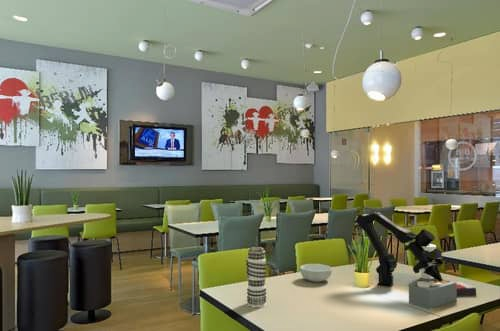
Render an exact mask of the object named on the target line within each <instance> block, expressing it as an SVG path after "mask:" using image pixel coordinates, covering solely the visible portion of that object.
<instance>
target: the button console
mask: <svg viewBox="0 0 500 331" xmlns="http://www.w3.org/2000/svg"><path fill="white" fill-rule="evenodd" d="M436 280H437V279H435V278H433V277H432V278H431V279H425V280H424V281H425V282H429V283H430V288H426V289H425V288H421V287H417V282H413V283H410V284H408V303H409V304H412V305H415V306H419V307H421V308H424V309H428V310H432V309H435V308H438V307H440V306H443V305H447V304H450V303H453V302H456V301H457V300H458V296H457V286H456V282H457V281H452V280H447V279H443V278H442V280H444V281H447V282H448V283H440V282H436Z"/></svg>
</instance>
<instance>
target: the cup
mask: <svg viewBox="0 0 500 331" xmlns="http://www.w3.org/2000/svg"><path fill="white" fill-rule="evenodd" d="M423 248H424V250H425V251H429V252H431V251H434V249H436V248H437V245H436V244H432V243H430V244H429V245H428V246H427V247H424V246H423ZM433 261H434V260H433ZM418 262H419V261H418V260H417V263H418ZM419 271H420V272H419V273H420V277H421V279H425V280H429V279H432V277H431V276H430V275H428V274H426V273H423V272H424V271H425V270H424V268H423V269H420V270H419Z"/></svg>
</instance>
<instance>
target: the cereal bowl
mask: <svg viewBox="0 0 500 331" xmlns="http://www.w3.org/2000/svg"><path fill="white" fill-rule="evenodd" d="M299 271H300V274H301V276H302V278H304V279H305V280H308V281H309V280H310V281H309V282H311V281H313V282H312V283H322V282H323V281H327V280H328V279H329V278H330V277H331V275H332V272H333V269H332V267H331V266H329V265H326V264H323V263H322V264H321V263H306V264H302V265H301V266H300V267H299ZM321 281H322V282H321Z"/></svg>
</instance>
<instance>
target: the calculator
mask: <svg viewBox="0 0 500 331" xmlns="http://www.w3.org/2000/svg"><path fill="white" fill-rule="evenodd" d="M455 282H456V286H457V297H464V296H469V297H470V296H472V297H473V296H477V288H476V287H475V286H473V285H470V284H468V283H465V282H463V281H455Z"/></svg>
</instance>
